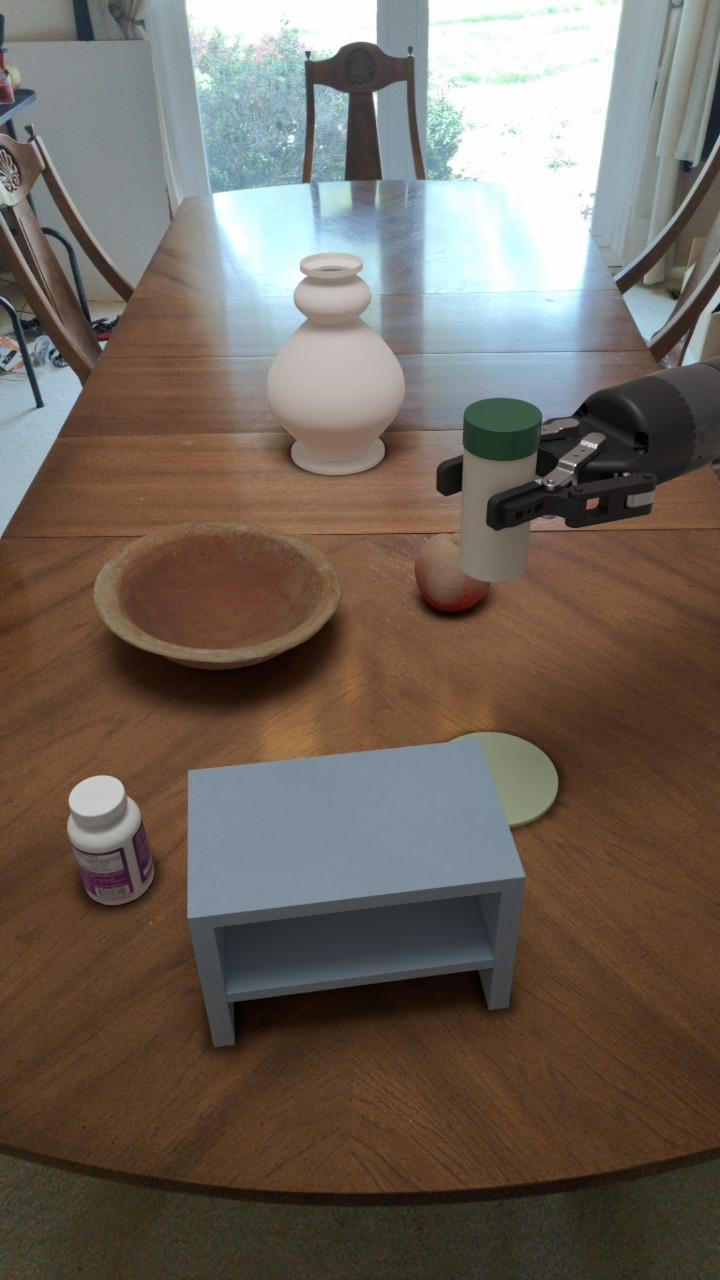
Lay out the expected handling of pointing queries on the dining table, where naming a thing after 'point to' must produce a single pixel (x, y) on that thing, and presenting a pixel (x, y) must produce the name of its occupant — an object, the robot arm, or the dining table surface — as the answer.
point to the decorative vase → (335, 372)
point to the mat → (518, 775)
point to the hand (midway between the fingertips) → (464, 497)
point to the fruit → (446, 575)
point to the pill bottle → (109, 841)
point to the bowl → (217, 593)
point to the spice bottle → (496, 484)
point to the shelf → (349, 875)
